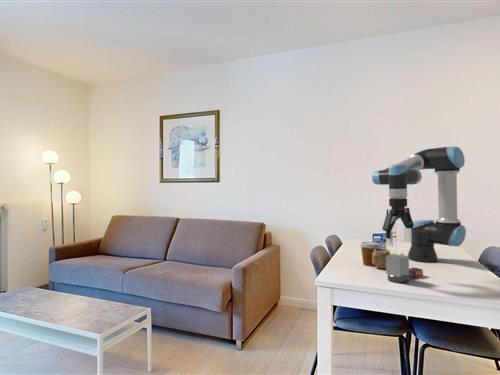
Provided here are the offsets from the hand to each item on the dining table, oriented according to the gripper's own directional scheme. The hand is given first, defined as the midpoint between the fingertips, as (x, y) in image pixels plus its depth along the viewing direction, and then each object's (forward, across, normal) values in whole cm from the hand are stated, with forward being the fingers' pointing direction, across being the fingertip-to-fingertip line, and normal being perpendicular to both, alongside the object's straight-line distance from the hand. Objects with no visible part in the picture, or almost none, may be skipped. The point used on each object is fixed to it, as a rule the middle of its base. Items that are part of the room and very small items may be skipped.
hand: (398, 243), depth 139 cm
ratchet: (+17, -5, 0) cm, 18 cm away
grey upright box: (+14, +1, 0) cm, 14 cm away
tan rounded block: (+18, -12, -14) cm, 26 cm away
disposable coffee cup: (+18, -11, -25) cm, 33 cm away
